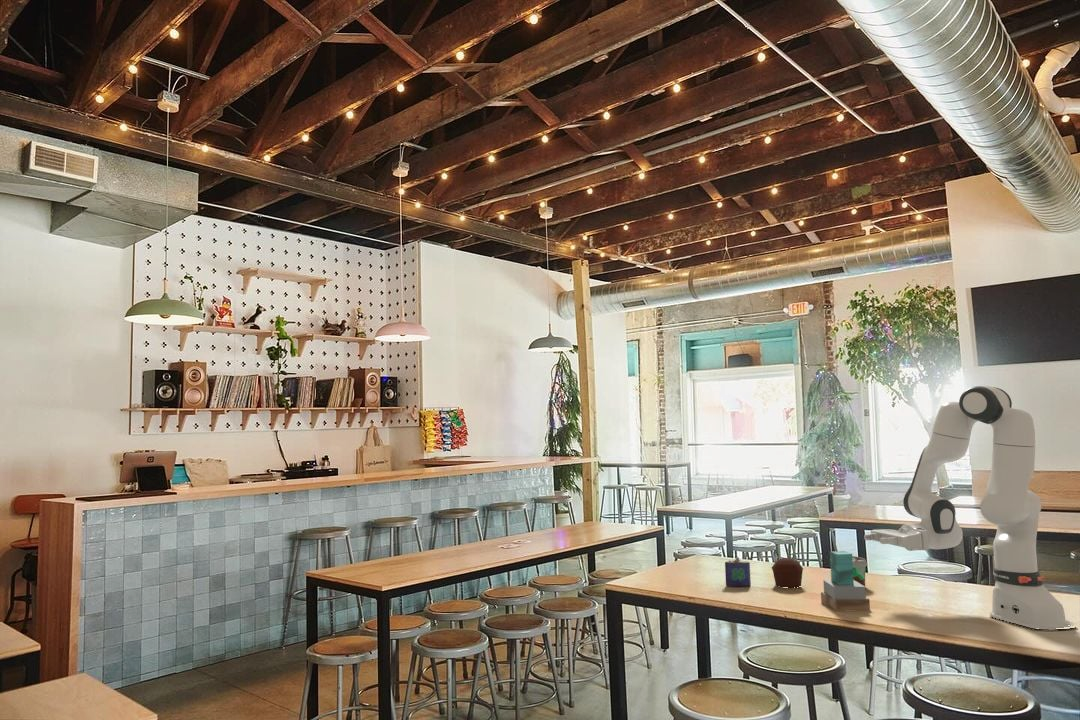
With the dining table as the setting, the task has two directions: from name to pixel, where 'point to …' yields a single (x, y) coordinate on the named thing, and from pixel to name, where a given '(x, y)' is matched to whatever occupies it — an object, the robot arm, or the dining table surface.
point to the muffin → (787, 573)
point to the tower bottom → (845, 603)
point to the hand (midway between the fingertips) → (872, 539)
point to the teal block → (841, 568)
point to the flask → (737, 573)
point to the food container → (859, 569)
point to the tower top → (844, 590)
